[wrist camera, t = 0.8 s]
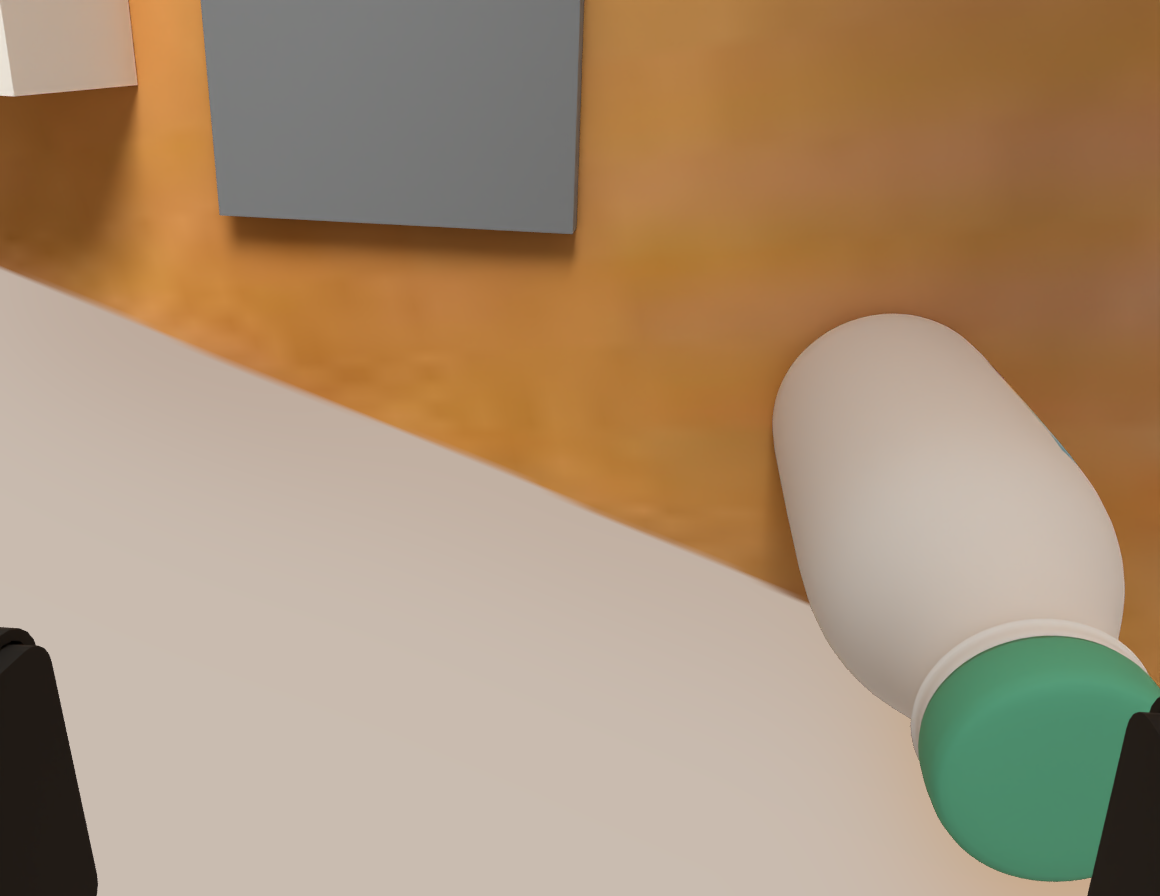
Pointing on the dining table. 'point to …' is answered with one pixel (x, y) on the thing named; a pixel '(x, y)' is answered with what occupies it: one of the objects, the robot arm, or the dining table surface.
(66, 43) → the housing
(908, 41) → the dining table surface
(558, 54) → the mat
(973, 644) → the milk bottle
